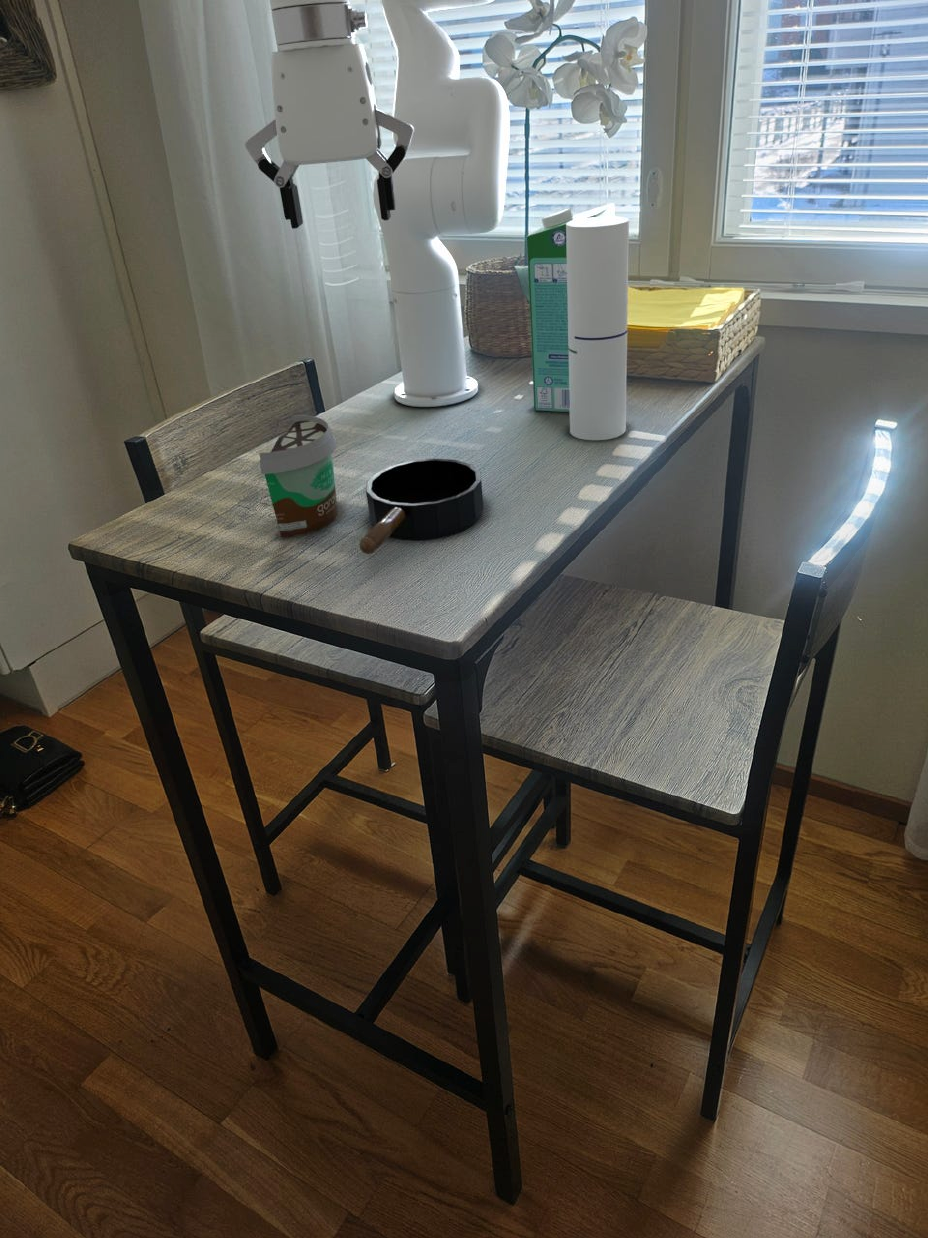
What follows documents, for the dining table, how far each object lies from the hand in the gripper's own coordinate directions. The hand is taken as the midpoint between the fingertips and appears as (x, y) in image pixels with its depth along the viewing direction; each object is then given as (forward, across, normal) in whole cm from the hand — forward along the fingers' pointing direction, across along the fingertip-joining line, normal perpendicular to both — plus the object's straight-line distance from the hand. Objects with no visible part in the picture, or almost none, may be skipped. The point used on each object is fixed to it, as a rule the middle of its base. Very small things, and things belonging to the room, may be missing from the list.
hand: (341, 222), depth 94 cm
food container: (+28, +5, +13) cm, 32 cm away
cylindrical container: (+28, -28, -8) cm, 41 cm away
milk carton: (+28, -26, -20) cm, 43 cm away
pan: (+28, -6, +18) cm, 34 cm away
